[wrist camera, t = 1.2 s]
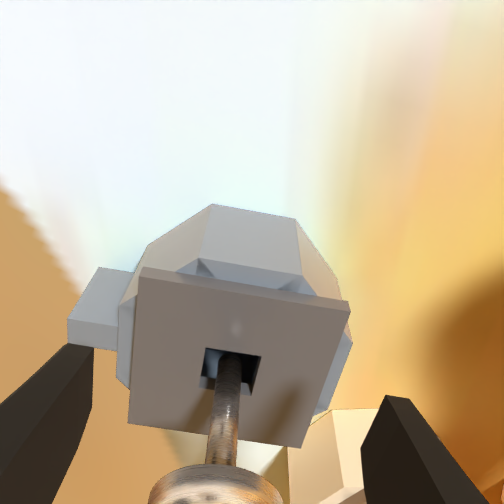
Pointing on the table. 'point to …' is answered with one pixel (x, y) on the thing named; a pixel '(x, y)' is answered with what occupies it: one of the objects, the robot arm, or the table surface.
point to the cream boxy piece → (331, 459)
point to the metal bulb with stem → (218, 456)
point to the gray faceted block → (222, 325)
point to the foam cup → (503, 496)
